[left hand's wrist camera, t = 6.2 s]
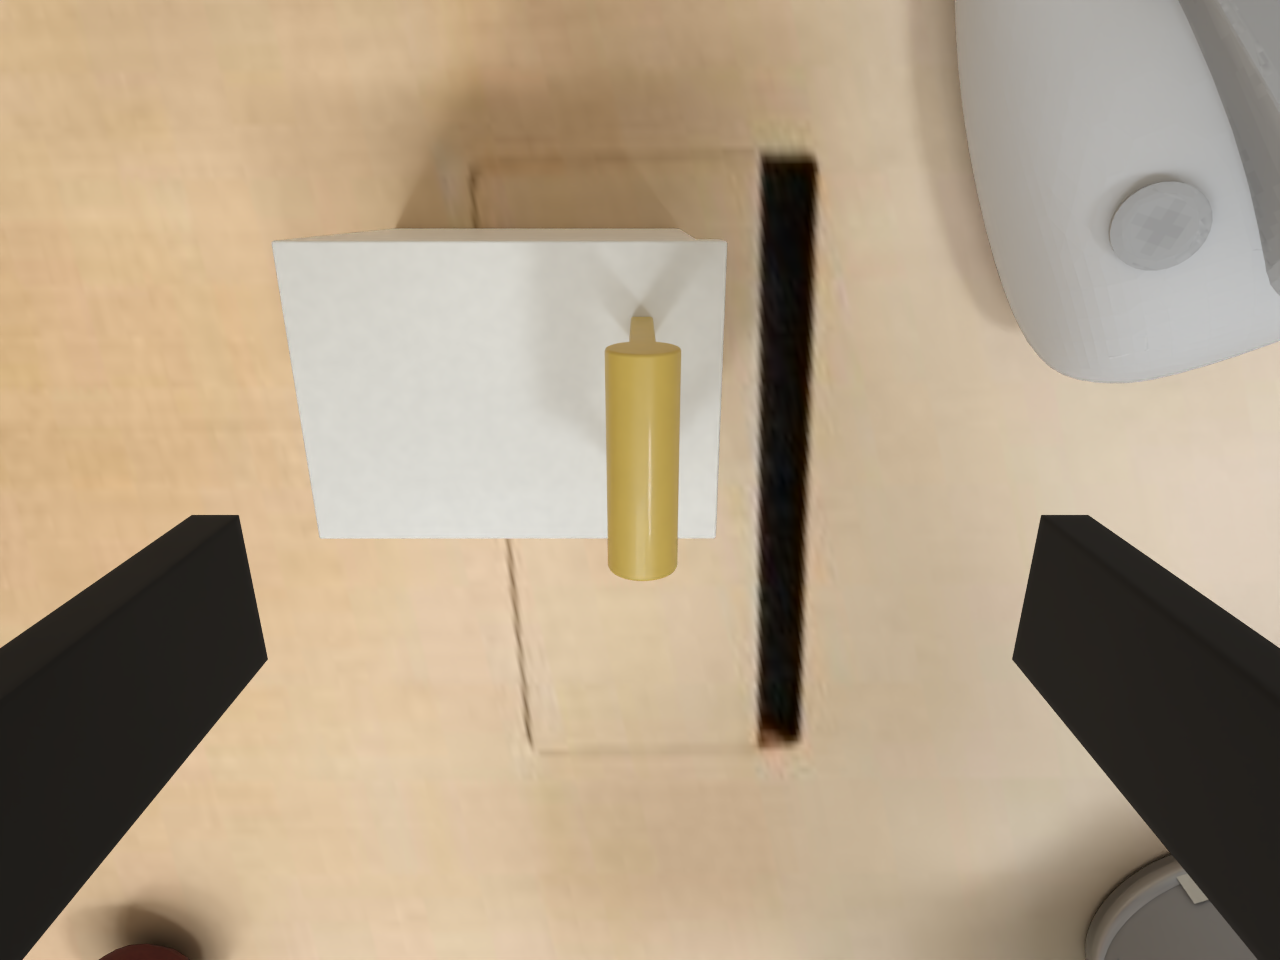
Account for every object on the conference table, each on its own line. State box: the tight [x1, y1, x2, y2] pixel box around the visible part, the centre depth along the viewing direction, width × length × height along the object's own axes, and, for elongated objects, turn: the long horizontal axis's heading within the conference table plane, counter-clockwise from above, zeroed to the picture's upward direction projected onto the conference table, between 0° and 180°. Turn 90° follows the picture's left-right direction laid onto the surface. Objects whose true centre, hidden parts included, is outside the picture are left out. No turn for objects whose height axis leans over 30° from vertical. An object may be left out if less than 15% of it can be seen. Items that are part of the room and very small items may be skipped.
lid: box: [272, 239, 727, 581], centre depth 22 cm, size 14×10×8 cm
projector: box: [955, 0, 1280, 383], centre depth 25 cm, size 22×23×15 cm
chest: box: [296, 228, 695, 239], centre depth 31 cm, size 13×10×11 cm
